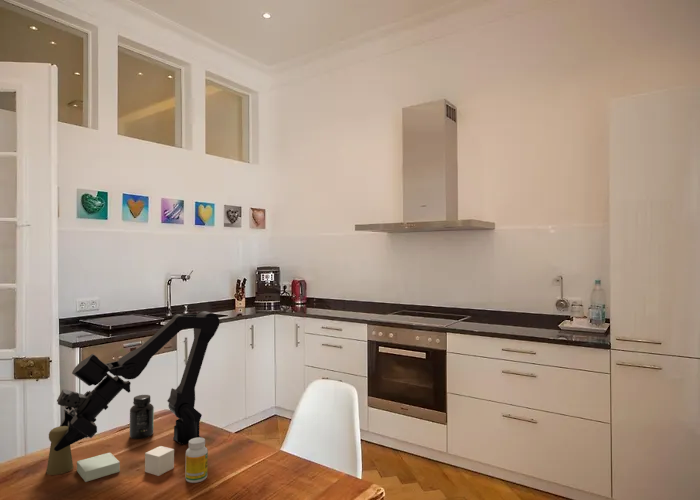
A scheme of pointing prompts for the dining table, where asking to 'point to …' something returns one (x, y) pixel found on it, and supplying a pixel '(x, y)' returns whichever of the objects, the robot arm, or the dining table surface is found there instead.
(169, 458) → the brick
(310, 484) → the dining table surface
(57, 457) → the cork
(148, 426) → the supplement bottle
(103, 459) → the base brick
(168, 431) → the dining table surface
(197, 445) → the supplement bottle
